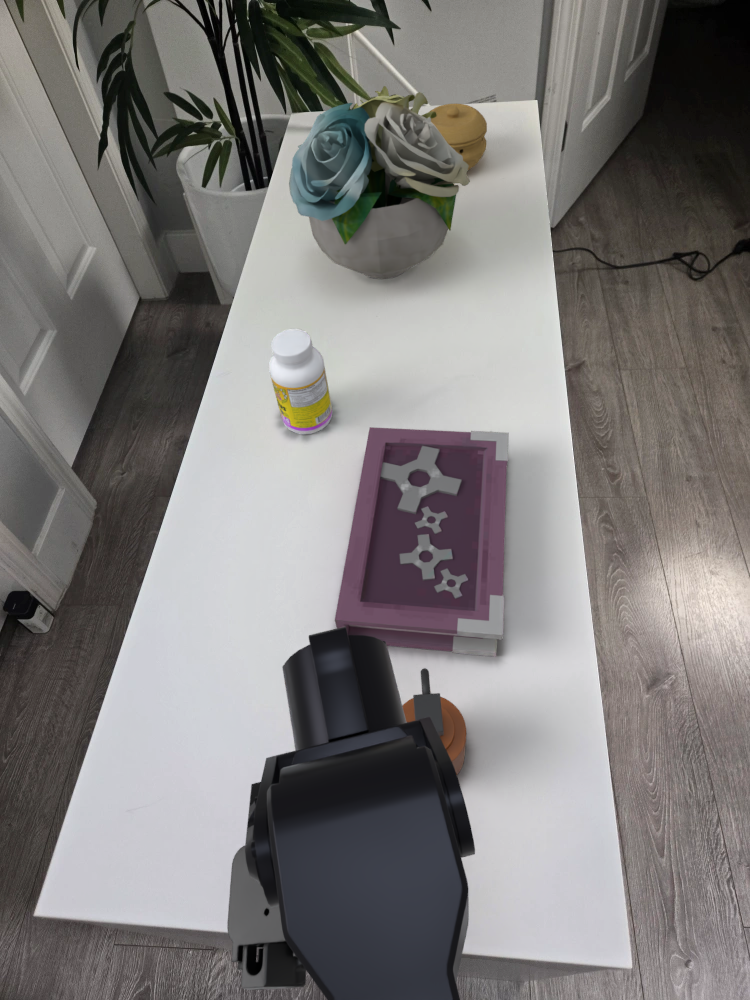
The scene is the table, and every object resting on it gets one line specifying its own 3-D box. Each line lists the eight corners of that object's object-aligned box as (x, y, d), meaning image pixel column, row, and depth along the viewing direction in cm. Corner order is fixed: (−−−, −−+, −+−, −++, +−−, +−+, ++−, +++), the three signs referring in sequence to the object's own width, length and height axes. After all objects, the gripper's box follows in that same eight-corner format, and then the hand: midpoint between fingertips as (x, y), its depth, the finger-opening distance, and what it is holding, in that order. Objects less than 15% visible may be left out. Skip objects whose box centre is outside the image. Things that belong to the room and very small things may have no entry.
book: (499, 657, 71) (503, 635, 66) (340, 642, 73) (334, 620, 69) (505, 460, 85) (508, 432, 81) (372, 453, 87) (369, 425, 83)
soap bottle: (468, 785, 64) (471, 761, 58) (397, 790, 64) (392, 766, 58) (460, 715, 67) (462, 686, 61) (393, 719, 68) (388, 690, 62)
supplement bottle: (281, 402, 94) (262, 326, 83) (331, 395, 94) (317, 318, 84) (283, 440, 90) (262, 365, 80) (335, 433, 90) (321, 357, 80)
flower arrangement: (470, 311, 102) (477, 142, 82) (298, 319, 104) (264, 155, 84) (461, 213, 116) (465, 49, 97) (311, 221, 118) (285, 62, 99)
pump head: (443, 738, 58) (443, 731, 56) (416, 740, 58) (416, 733, 56) (437, 674, 61) (437, 665, 60) (411, 675, 61) (411, 667, 60)
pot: (429, 189, 121) (428, 130, 113) (411, 155, 128) (409, 98, 120) (494, 175, 122) (498, 116, 114) (473, 143, 129) (475, 85, 121)
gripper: (232, 696, 40) (282, 773, 53) (195, 1137, 29) (269, 1101, 42) (429, 683, 40) (431, 764, 52) (467, 1125, 29) (459, 1093, 41)
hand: (397, 911), depth 47 cm, fingers closed
